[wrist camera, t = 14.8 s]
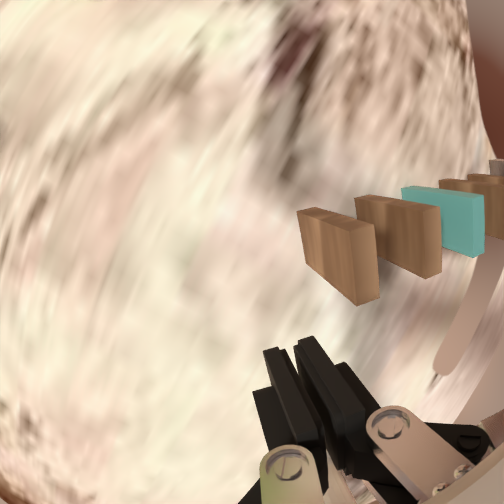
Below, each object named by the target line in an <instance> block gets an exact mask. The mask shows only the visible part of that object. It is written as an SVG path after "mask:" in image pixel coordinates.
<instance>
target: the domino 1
mask: <svg viewBox="0 0 504 504" xmlns="http://www.w3.org/2000/svg"><path fill="white" fill-rule="evenodd" d="M297 216H298V221H299V227H300V232H301V238H302V243H303V249H304V254H305V260H306V264H307V265H309V266H310V267H311V268H312V269H313V270H315V271H316V272H317V273H318V274H319V275H320V276H322V277H323V278H324V279H325V280H326V281H328V282H329V283H330V284H331V285H332V286H333V287H335V288H336V289H337V290H338V291H339V292H340V293H342V294H343V295H344V296H345V297H346V298H347V299H349V300H350V301H351V302H352V303H353V304H354V305H356V306H359V305H362V304H365V303H367V302H370V301H373V300H375V299H378V298H380V296H379V276H378V262H377V250H376V239H375V230H374V225H373V224H370V223H367V222H364V221H361V220H357V219H354V218H351V217H347V216H344V215H341V214H337V213H334V212H330V211H327V210H324V209H320V208H317V207H313V208H309V209H304V210H300V211H297Z"/></svg>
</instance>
